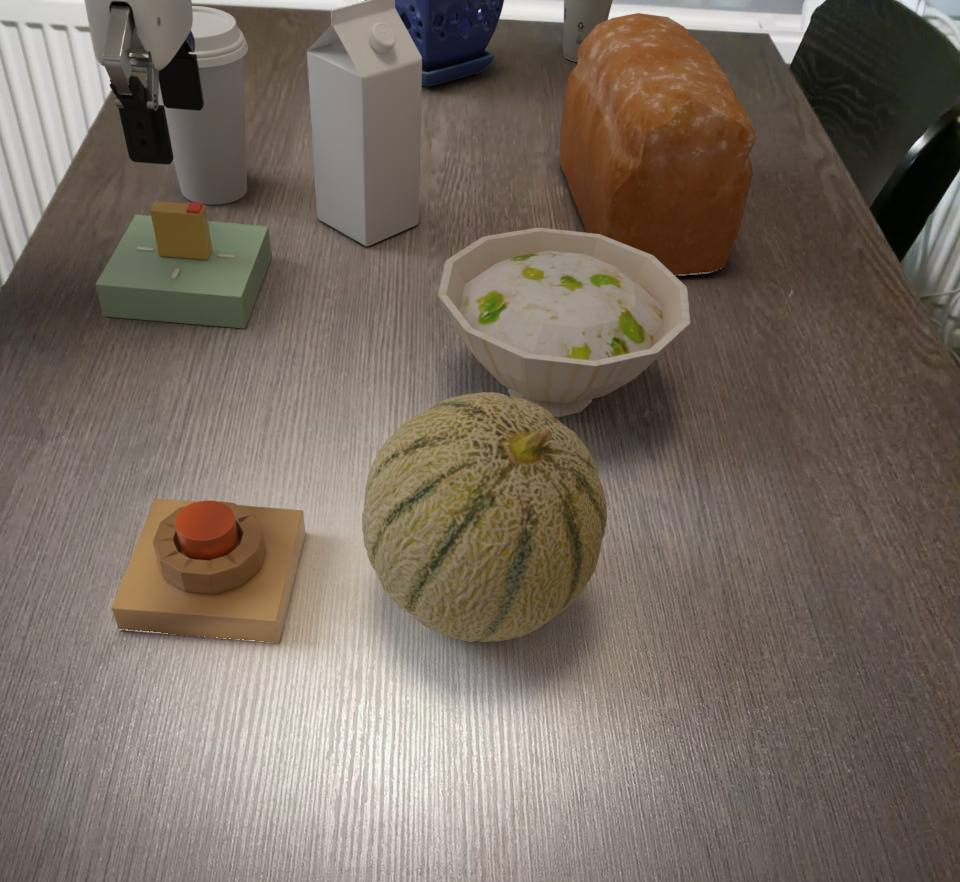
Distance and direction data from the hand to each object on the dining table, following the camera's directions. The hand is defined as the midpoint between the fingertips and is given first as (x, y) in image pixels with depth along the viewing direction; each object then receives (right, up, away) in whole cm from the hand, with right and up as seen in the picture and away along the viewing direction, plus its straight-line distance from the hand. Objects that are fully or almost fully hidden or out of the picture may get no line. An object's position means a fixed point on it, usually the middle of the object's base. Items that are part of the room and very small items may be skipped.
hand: (168, 133), depth 76 cm
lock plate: (-1, -8, +10) cm, 13 cm away
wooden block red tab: (-1, -6, +8) cm, 10 cm away
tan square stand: (+7, -36, -12) cm, 38 cm away
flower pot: (+18, +32, +45) cm, 58 cm away
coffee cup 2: (+37, +37, +52) cm, 74 cm away
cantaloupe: (+24, -37, -12) cm, 46 cm away
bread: (+41, +4, +25) cm, 48 cm away
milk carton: (+13, +1, +20) cm, 24 cm away
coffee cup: (-2, +6, +22) cm, 23 cm away
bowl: (+30, -19, +4) cm, 36 cm away
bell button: (+7, -33, -15) cm, 37 cm away
